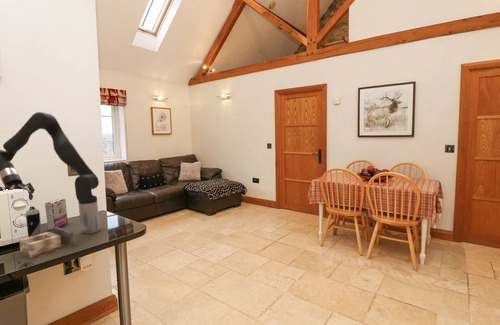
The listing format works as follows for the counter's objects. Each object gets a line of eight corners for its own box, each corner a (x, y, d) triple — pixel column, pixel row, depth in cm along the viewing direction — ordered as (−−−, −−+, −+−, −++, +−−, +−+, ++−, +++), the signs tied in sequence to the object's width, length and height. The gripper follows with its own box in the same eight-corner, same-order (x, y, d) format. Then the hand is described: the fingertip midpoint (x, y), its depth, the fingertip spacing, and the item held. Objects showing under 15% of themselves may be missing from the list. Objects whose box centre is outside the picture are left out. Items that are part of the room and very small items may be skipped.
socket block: (31, 257, 122) (30, 244, 122) (20, 252, 128) (19, 239, 128) (61, 247, 132) (60, 235, 132) (49, 243, 139) (48, 231, 138)
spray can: (31, 247, 136) (27, 208, 134) (27, 245, 139) (23, 207, 137) (44, 243, 141) (40, 205, 139) (39, 241, 144) (36, 204, 142)
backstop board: (33, 261, 121) (31, 244, 120) (17, 253, 129) (15, 237, 129) (74, 247, 135) (72, 232, 134) (57, 241, 144) (55, 226, 143)
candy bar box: (60, 223, 173) (58, 198, 171) (68, 223, 173) (65, 198, 171) (47, 230, 162) (44, 203, 160) (55, 229, 162) (52, 202, 160)
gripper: (-6, 175, 141) (6, 199, 136) (28, 171, 153) (39, 193, 148) (-8, 184, 144) (3, 208, 139) (24, 180, 156) (35, 202, 152)
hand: (21, 200), depth 144 cm, fingers open, 8 cm apart
